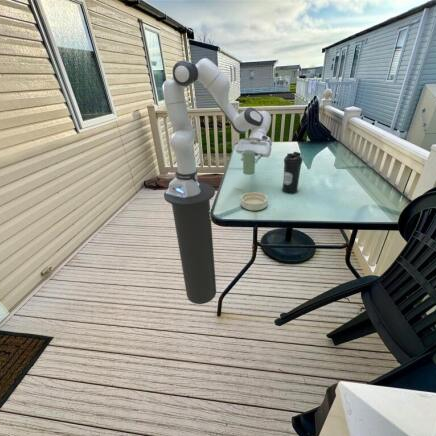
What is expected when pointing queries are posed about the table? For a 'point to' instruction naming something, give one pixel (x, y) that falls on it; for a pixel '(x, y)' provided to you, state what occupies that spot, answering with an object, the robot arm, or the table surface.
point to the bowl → (254, 201)
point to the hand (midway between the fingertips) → (248, 161)
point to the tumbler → (248, 162)
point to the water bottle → (291, 172)
